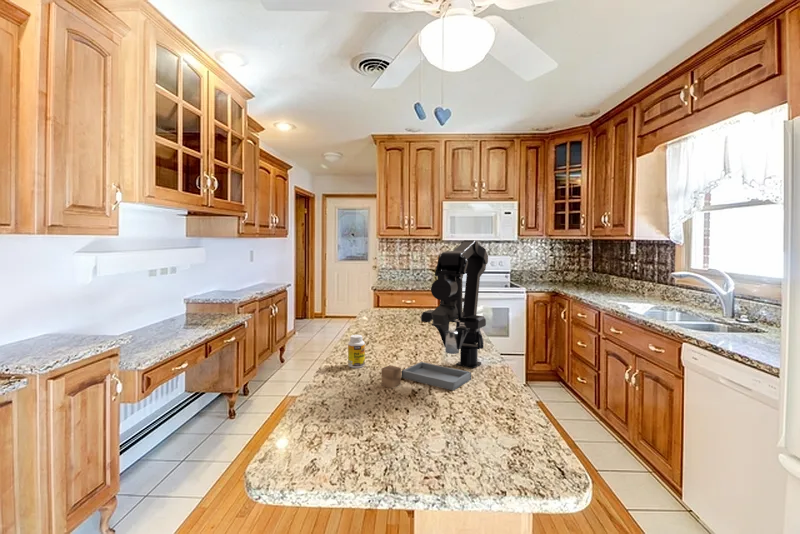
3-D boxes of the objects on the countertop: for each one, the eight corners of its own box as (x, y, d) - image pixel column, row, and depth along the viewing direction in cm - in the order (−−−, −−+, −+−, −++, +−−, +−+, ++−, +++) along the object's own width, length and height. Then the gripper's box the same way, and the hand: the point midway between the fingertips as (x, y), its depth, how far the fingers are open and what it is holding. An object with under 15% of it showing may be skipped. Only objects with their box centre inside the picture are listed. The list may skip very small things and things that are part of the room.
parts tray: (421, 368, 131) (421, 361, 131) (471, 379, 120) (471, 372, 120) (401, 377, 122) (401, 370, 122) (453, 390, 111) (453, 382, 111)
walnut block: (389, 381, 119) (389, 365, 119) (400, 384, 117) (400, 367, 116) (381, 385, 116) (381, 368, 115) (392, 388, 113) (392, 371, 113)
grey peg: (449, 349, 120) (449, 329, 120) (461, 351, 118) (461, 331, 117) (442, 352, 117) (442, 332, 116) (455, 354, 115) (455, 334, 114)
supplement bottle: (352, 369, 130) (352, 338, 129) (345, 365, 134) (345, 335, 134) (367, 366, 133) (367, 336, 132) (360, 362, 138) (359, 333, 137)
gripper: (410, 296, 115) (410, 349, 116) (469, 301, 104) (468, 360, 105) (430, 291, 124) (430, 341, 125) (486, 296, 113) (486, 350, 114)
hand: (452, 347), depth 117 cm, fingers closed on grey peg, 4 cm apart
